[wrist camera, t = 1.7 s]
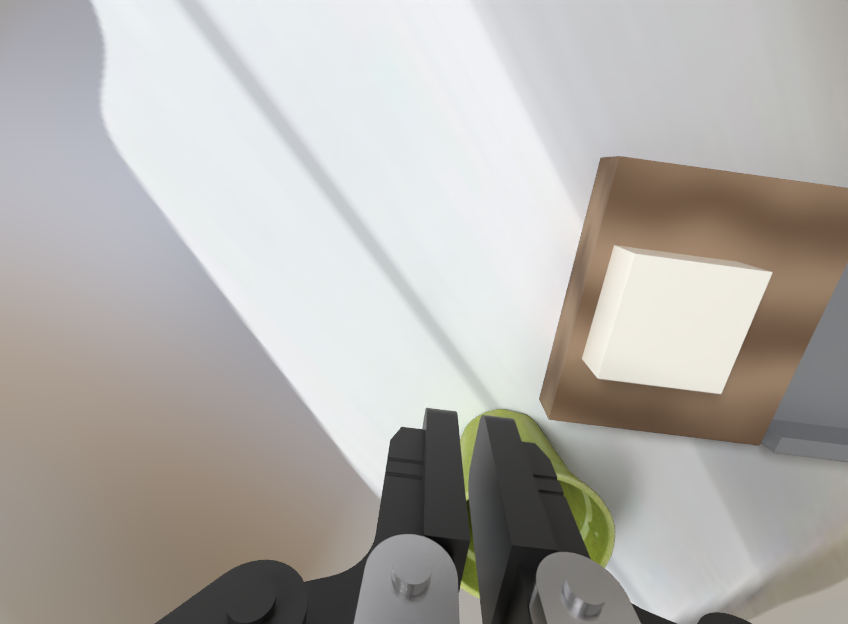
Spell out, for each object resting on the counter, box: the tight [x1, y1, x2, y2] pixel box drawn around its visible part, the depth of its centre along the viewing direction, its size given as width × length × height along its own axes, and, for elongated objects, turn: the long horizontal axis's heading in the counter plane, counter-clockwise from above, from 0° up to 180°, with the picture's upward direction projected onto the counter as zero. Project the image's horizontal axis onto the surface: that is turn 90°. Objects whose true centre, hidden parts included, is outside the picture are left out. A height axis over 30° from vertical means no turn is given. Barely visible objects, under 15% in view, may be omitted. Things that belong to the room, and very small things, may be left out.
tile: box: [582, 245, 773, 394], centre depth 23 cm, size 7×7×2 cm
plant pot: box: [460, 409, 615, 599], centre depth 26 cm, size 9×9×9 cm
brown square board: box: [539, 156, 848, 445], centre depth 25 cm, size 16×14×2 cm
